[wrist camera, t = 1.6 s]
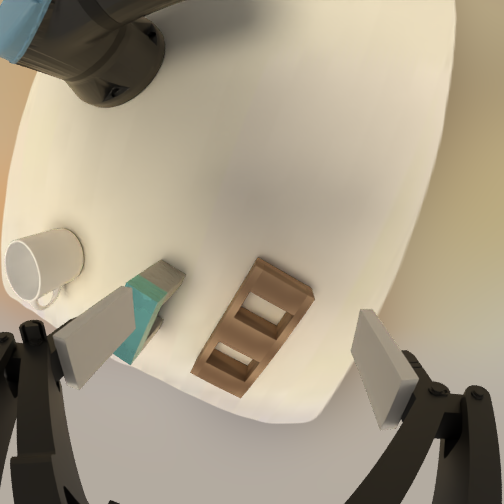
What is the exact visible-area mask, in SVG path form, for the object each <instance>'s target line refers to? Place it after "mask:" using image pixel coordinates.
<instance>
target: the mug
mask: <svg viewBox="0 0 504 504" xmlns="http://www.w3.org/2000/svg"><path fill="white" fill-rule="evenodd" d="M83 259H84V258H83V251H82V247H81V244H80V242H79V240H78V239H77V237H76V236H75V235H74V234H73V233H72V232H70V231H69V230H67V229H62V228H59V229H53V230H50V231H46V232H42V233H38V234H35V235H31V236H27V237H24V238H20V239H17V240H14V241H12V242H11V243H10V244H9V245H8V247H7V249H6V252H5V259H4V263H5V271H6V275H7V279H8V281H9V284H10V286H11V288H12V289H13V291H14V292H15V294H16V295H17V296H18V297H19V298H20V299H22V300H24V301H26V302H29V303H30V304H31V306H32V307H33V308H35V309H36V310H44V309H46V308H48V307H49V306H50V305H52V304H53V303H54V301H55V300H56V299H57V297H58V295H59V293H60V290H61V286H63V285H65V284H66V283H68V282H70V281H72V280H74V279H75V278H76V277H77V276H78V275H79V274H80V272H81V270H82V267H83ZM51 291H53V297H52V299H51V301H50V303H49V304H48V305H46V306H41V305H39V303H38V298H40V297H42V296H44V295H46V294H48V293H49V292H51Z"/></svg>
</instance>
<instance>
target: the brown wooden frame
mask: <svg viewBox="0 0 504 504" xmlns="http://www.w3.org/2000/svg"><path fill="white" fill-rule="evenodd" d="M249 292H252V293H254V294H256V295H258V296H259V297H261V298H263V299H265V300H267V301H268V302H270V303H272V304H274V305H276V306H277V307H279V308H281V309H283V310H285V311H286V313H285V315H284V316H283V318H282V319H281V320H280V322H279V323H278V325H277V326H276V325H274V324H272V323H270V322H268V321H266V320H265V319H263V318H261V317H259V316H257V315H255V314H254V313H252V312H250V311H248V310H246V309H245V308H243V307H241V305H242V303H243V302H244V300H245V299H246V297H247V295H248V294H249ZM314 300H315V298H314V295H313V292H312V289H311V288H310V287H309V286H307V285H305V284H304V283H302V282H300V281H298V280H297V279H295V278H293V277H291V276H290V275H288V274H286V273H284V272H283V271H281V270H279V269H278V268H276V267H274V266H272V265H271V264H269V263H267V262H265V261H264V260H262V259H260V258H257V260H256V261H255V263H254V265H253V266H252V268H251V270H250V271H249V273H248V275H247V276H246V278H245V280H244V281H243V283H242V285H241V286H240V288H239V290H238V291H237V293H236V295H235V296H234V298H233V300H232V301H231V303H230V305H229V306H228V308H227V310H226V311H225V313H224V314H223V316H222V318H221V319H220V321H219V323H218V324H217V326H216V328H215V329H214V331H213V333H212V334H211V336H210V338H209V339H208V341H207V343H206V344H205V346H204V348H203V349H202V351H201V352H200V354H199V356H198V357H197V359H196V362H195V364H194V366H193V368H192V370H191V372H190V373H192V374H194V375H196V376H197V377H199V378H201V379H203V380H205V381H207V382H209V383H211V384H213V385H215V386H217V387H219V388H221V389H223V390H225V391H227V392H229V393H231V394H233V395H235V396H237V397H239V398H241V397H242V396H243V395H244V394H245V393H246V391H247V390H248V389H249V388H250V386H251V385H252V384H253V383H254V381H255V380H256V379H257V378H258V376H259V375H260V374H261V372H262V371H263V370H264V369H265V367H266V366H267V365H268V363H269V362H270V361H271V360H272V358H273V357H274V356H275V354H276V353H277V352H278V350H279V349H280V348H281V346H282V345H283V344H284V342H285V341H286V339H287V338H288V337H289V335H290V334H291V333H292V331H293V330H294V328H295V327H296V326H297V324H298V323H299V321H300V320H301V319H302V317H303V316H304V314H305V313H306V312H307V310H308V309H309V307H310V306H311V304H312V303H313V301H314ZM218 342H221V343H223V344H225V345H227V346H229V347H231V348H232V349H234V350H236V351H238V352H240V353H242V354H244V355H246V356H248V357H250V358H252V359H253V360H252V361H251V363H250V364H249V365H248V366H247V365H245V364H243V363H241V362H239V361H237V360H235V359H233V358H231V357H229V356H227V355H225V354H224V353H222V352H220V351H218V350H216V349H214V348H215V347H216V345H217V343H218Z"/></svg>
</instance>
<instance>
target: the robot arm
mask: <svg viewBox="0 0 504 504" xmlns="http://www.w3.org/2000/svg"><path fill="white" fill-rule="evenodd" d="M182 1H185V0H3V2H2V4H1V5H0V57H1V58H4V59H6V60H8V61H9V62H10V63H12V64H17V65H21V66H24V67H27V68H30V69H33V70H36V71H39V72H42V73H45V74H48V75H51V76H54V77H56V78H59V79H62V80H64V81H66V83H67V84H68V85H69V86H70V88H71V89H72V90H73V91H74V92H75V94H76V95H77V96H78V97H79V98H80V99H81V100H83V101H84V102H86V103H88V104H91V105H94V106H97V107H103V108H106V107H114V106H117V105H120V104H123V103H125V102H127V101H129V100H130V99H132V98H133V97H135V96H136V95H137V94H139V93H140V92H141V91H142V90H143V89H144V88H145V87H146V86H147V85H148V84H149V83H150V82H151V80H152V79H153V78H154V76H155V75H156V73H157V72H158V70H159V68H160V66H161V63H162V60H163V57H164V52H165V42H164V38H163V35H162V33H161V32H160V30H159V29H158V28H157V27H156V26H155V24H154V23H153V22H151V21H150V20H148V19H147V18H144V16H146V15H148V14H151V13H153V12H155V11H158V10H160V9H163V8H166V7H168V6H171V5H174V4H176V3H179V2H182ZM19 329H20V333H21V337H22V340H23V343H16V342H15V339H14V336H13V334H12V333H9V332H2V333H0V485H1V479H2V474H3V469H4V464H5V459H6V455H7V451H8V446H9V442H10V439H11V435H12V431H13V428H14V424H15V420H16V418H17V453H18V455H17V457H12V458H11V460H10V469H11V481H12V490H13V497H14V504H89V503H88V501H87V499H86V497H85V494H84V491H83V488H82V485H81V482H80V479H79V474H78V471H77V467H76V464H75V459H74V455H73V451H72V447H71V442H70V437H69V432H68V427H67V421H66V416H65V410H64V402H63V395H62V386H61V383H60V379H61V378H62V377H63V376H64V378H65V381H66V384H67V386H70V387H72V388H75V389H77V390H80V389H81V388H82V387H83V386H84V384H85V383H86V382H87V381H88V380H89V379H90V378H91V377H92V375H93V374H94V373H95V372H96V371H97V370H98V369H99V368H100V367H101V366H102V365H103V363H104V362H105V361H106V360H107V359H108V358H109V357H110V356H111V355H112V354H113V353H114V352H115V350H116V349H117V348H118V347H119V346H120V345H121V344H122V343H123V342H124V341H125V340H126V339H127V338H128V337H129V335H130V334H131V333H132V332H133V331H134V330H135V329H136V326H135V316H134V306H133V294H132V288H131V287H124V286H121V287H119V288H118V289H116V290H115V291H113V292H112V293H110V294H109V295H108V296H106V297H105V298H103V299H102V300H101V301H99V302H98V303H96V304H95V305H93V306H92V307H91V308H89V309H88V310H86V311H85V312H84V313H82V314H81V315H79V316H78V317H75V318H73V319H70V320H69V321H67V322H66V323H65V324H64V325H62V326H60V327H59V328H58V329H56V330H55V331H54V332H52V333H51V334H49V335H48V336H46V332H45V327H44V324H43V322H42V321H39V320H30V321H26V322H24V323H22V324H21V325H20V327H19ZM351 353H352V355H353V358H354V361H355V363H356V366H357V368H358V371H359V373H360V376H361V379H362V381H363V384H364V387H365V389H366V392H367V395H368V398H369V400H370V403H371V405H372V408H373V411H374V414H375V417H376V420H377V423H378V426H379V428H380V430H388V429H396V428H397V426H398V424H399V422H400V420H402V422H403V423H402V425H401V426H400V428H399V430H398V431H397V433H396V435H395V436H394V438H393V439H392V441H391V443H390V444H389V445H388V447H387V449H386V450H385V452H384V453H383V454H382V456H381V457H380V459H379V460H378V462H377V463H376V464H375V466H374V467H373V469H372V470H371V471H370V473H369V474H368V475H367V477H366V478H365V479H364V480H363V482H362V483H361V484H360V485H359V487H358V488H357V489H356V490H355V492H354V493H353V494H352V495H351V496H350V498H349V499H348V500H347V501H346V502H345V504H400V503H401V502H402V500H403V498H404V497H405V495H406V493H407V491H408V490H409V488H410V486H411V484H412V483H413V480H414V479H415V477H416V475H417V473H418V471H419V469H420V467H421V465H422V463H423V461H424V459H425V457H426V455H427V453H428V451H429V448H430V446H431V444H432V442H433V439H434V438H437V439H440V451H439V461H438V470H437V477H436V484H435V491H434V496H433V501H432V504H502V482H501V465H500V454H499V444H498V436H497V430H496V423H495V417H494V412H493V407H492V402H491V397H490V394H489V392H488V391H487V390H486V389H485V388H483V387H481V386H477V385H476V386H475V385H472V386H469V387H468V388H467V389H466V390H465V392H464V394H463V395H460V394H450V391H449V389H448V388H447V387H446V386H445V385H443V384H441V383H439V382H432V380H431V379H430V377H429V376H428V374H427V373H426V371H425V370H424V369H423V368H422V366H421V364H420V363H419V362H418V360H417V359H416V357H415V356H414V355H413V354H412V353H410V352H409V351H407V350H404V351H403V350H400V348H399V347H398V346H397V344H396V342H395V341H394V339H393V338H392V337H391V335H390V334H389V332H388V331H387V329H386V328H385V326H384V325H383V324H382V322H381V321H380V319H379V318H378V316H377V315H376V313H375V312H374V311H373V310H372V309H360V313H359V318H358V322H357V327H356V331H355V335H354V340H353V344H352V348H351ZM108 504H119V503H117V502H114V501H111V500H110V501H109V503H108Z"/></svg>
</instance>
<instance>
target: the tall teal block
mask: <svg viewBox="0 0 504 504" xmlns="http://www.w3.org/2000/svg"><path fill="white" fill-rule="evenodd" d="M185 276H186V274H184V273H182V272H181V271H179V270H177V269H176V268H174V267H173V266H171V265H169V264H168V263H166V262H164V261H163V260H160V261H158V262H157V263H155V264H154V265H152V266H151V267H149V268H148V269H146V270H144V271H143V272H141V273H140V274H138V275H137V276H135V277H134V278H132V279H131V280H129V281H128V282H126V285H125V287H131V288H132V294H133V306H134V316H135V326H136V329H135V330H134V331H133V332H132V333H131V334H130V335H129V337H128V338H127V339H126V340H125V341H124V342H123V343H122V344H121V345H120V346H119V347H118V348H117V349H116V350H115V352H114V353H113V354H114V355H116V356H117V357H119V358H120V359H122V360H123V361H125V362H126V363H128V364H129V365H131V364H132V363H133V361H134V360H135V359H136V358H137V356H138V355H139V354H140V352H141V351H142V350H143V349H144V347H145V346H146V345H147V344H148V342H149V341H150V340H151V339H152V338H153V336H154V335H155V334H156V333H157V331H158V330H159V329H160V326H161V324H162V322H163V320H164V319H163V318H161V317H159V316H158V315H157V314H158V312H159V310H160V308H161V306H162V305H163V304H164V303H165V302H166V301H167V300H168V299H169V298H170V297H171V296H172V295H173V293H174V292H175V291H176V290H177V289H178V288H179V287H180V286H181V284H182V282H183V280H184V278H185Z"/></svg>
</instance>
